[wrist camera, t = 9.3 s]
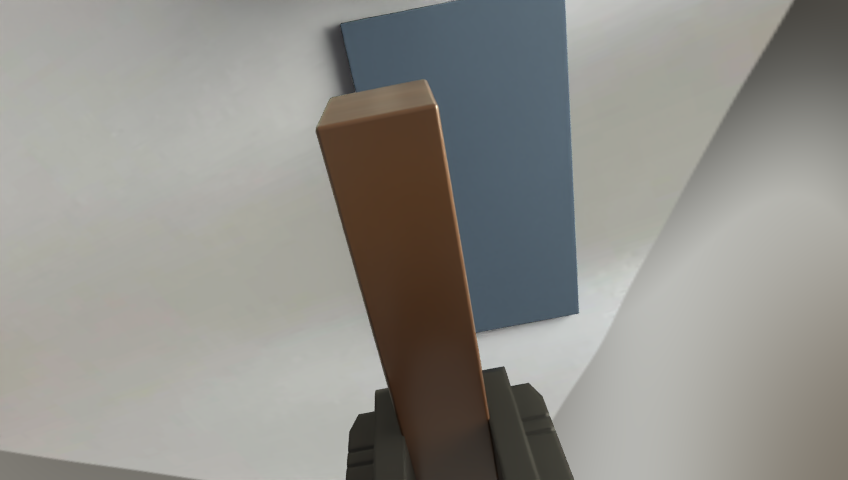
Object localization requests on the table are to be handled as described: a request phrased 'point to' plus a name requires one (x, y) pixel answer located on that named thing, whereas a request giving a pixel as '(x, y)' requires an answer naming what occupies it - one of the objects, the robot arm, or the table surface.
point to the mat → (493, 140)
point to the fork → (411, 272)
